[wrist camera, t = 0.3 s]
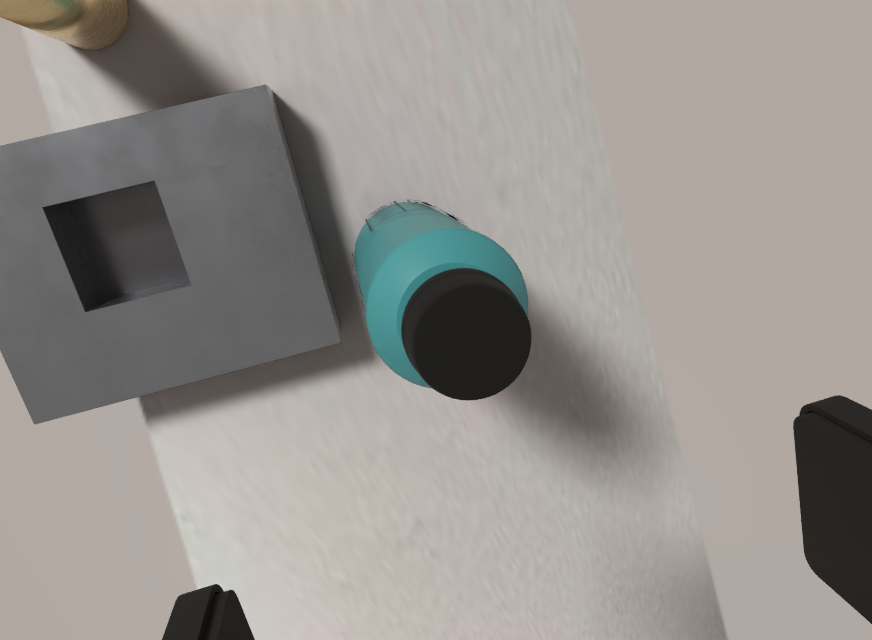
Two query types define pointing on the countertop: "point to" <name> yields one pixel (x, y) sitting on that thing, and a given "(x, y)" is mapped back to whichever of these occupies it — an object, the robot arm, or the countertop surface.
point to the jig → (155, 254)
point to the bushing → (71, 19)
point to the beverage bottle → (442, 302)
